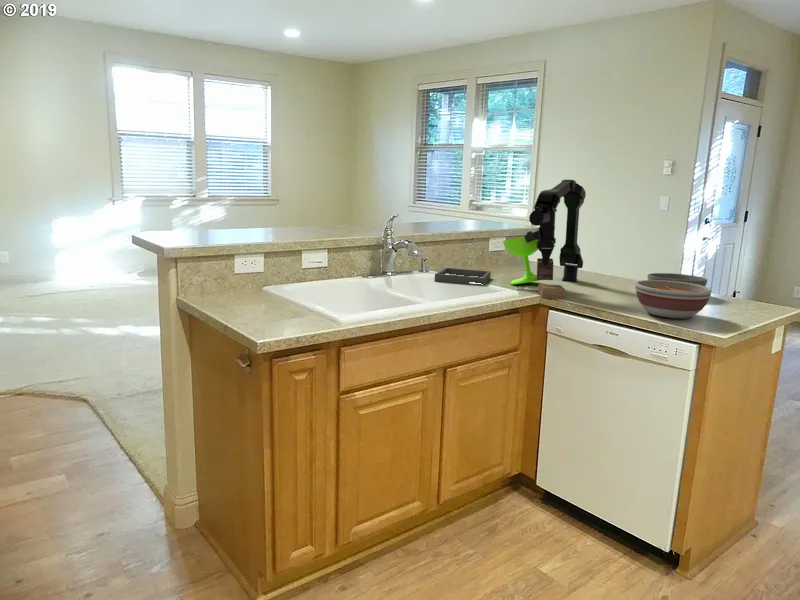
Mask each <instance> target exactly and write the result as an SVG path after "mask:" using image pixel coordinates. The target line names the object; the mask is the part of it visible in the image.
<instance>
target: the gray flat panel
mask: <svg viewBox="0 0 800 600" xmlns="http://www.w3.org/2000/svg"><path fill="white" fill-rule="evenodd" d="M538 289H539V285H538V286H535V285H528V284H527V285H525V284H519V286H518V287H517V291H524V292H525V291H526V292H535V293H536V292H537V293H538Z"/></svg>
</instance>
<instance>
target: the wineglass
mask: <svg viewBox="0 0 800 600" xmlns="http://www.w3.org/2000/svg"><path fill="white" fill-rule="evenodd" d="M538 241H539V240H538V239H536V240H533V241H530V242H529V243H527V242H526V239H525V236H521V237H517V238H516V237H515V238H512V239H511V238H510V239H506V240H502V243H503V246H504V248H505V249H506V251H507V252H508V253H510V254H511V255H513V256H514V257H519V258H523V263H524V269H525V273H524V275H523V277H521V278H516V279H513V280H511V281H510V283H509V284H510V285H518V284H519V285H522V284H526V283H533V282H538V281H540V280H537V274H535V273H533V272H532V271H531V266H530V265H531V264H530V260H529V256H531V255H533V254H534V253H536V252H537V251H539V250H538V249H537V242H538Z"/></svg>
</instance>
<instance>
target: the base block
mask: <svg viewBox="0 0 800 600" xmlns="http://www.w3.org/2000/svg"><path fill="white" fill-rule="evenodd" d="M538 286H539V289H538V292H537V293H538V296H539V297H540V298H542V299H557V300H558V299H561V300H563V299H565V291H566V290H565V288H564V287H563V286H562V285H561V284H547V283H546V284H545V283H542V284H541V283H538Z"/></svg>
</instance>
